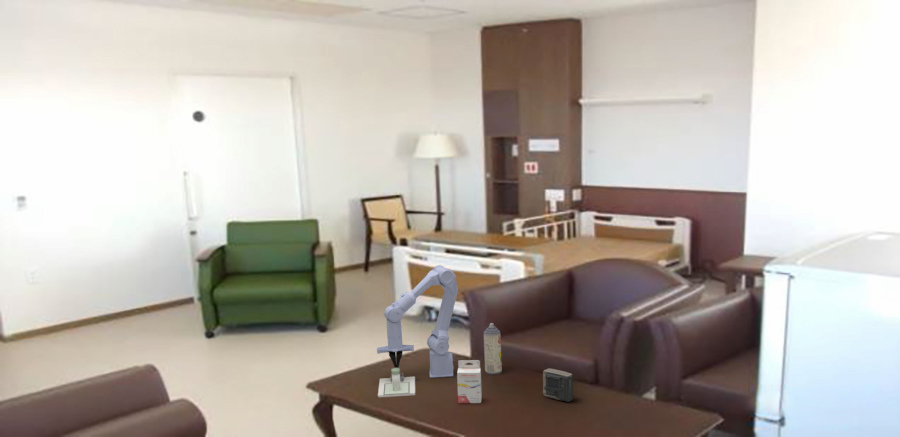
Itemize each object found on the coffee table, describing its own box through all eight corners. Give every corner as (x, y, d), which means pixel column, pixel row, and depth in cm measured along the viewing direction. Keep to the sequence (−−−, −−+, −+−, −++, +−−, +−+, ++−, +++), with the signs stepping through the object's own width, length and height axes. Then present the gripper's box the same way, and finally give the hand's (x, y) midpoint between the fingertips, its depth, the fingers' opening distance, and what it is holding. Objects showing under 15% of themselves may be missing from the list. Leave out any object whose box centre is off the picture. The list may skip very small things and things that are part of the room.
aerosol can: (503, 373, 287) (501, 325, 284) (486, 375, 287) (484, 326, 284) (500, 368, 294) (498, 320, 291) (484, 369, 293) (482, 322, 291)
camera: (576, 399, 258) (575, 372, 256) (567, 404, 254) (566, 377, 252) (550, 392, 266) (549, 366, 264) (540, 397, 261) (540, 370, 260)
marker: (400, 387, 275) (399, 367, 274) (400, 390, 272) (399, 370, 271) (392, 388, 275) (391, 368, 274) (392, 391, 272) (391, 370, 271)
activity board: (414, 378, 287) (414, 372, 286) (415, 395, 269) (414, 388, 269) (379, 380, 286) (379, 374, 286) (377, 397, 268) (377, 390, 268)
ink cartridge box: (457, 403, 259) (455, 364, 257) (459, 398, 264) (457, 359, 262) (481, 403, 258) (479, 364, 256) (482, 398, 263) (480, 359, 261)
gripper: (375, 340, 277) (378, 374, 279) (413, 337, 278) (415, 371, 280) (376, 335, 284) (378, 368, 286) (413, 332, 285) (415, 365, 287)
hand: (396, 369), depth 283 cm, fingers closed
